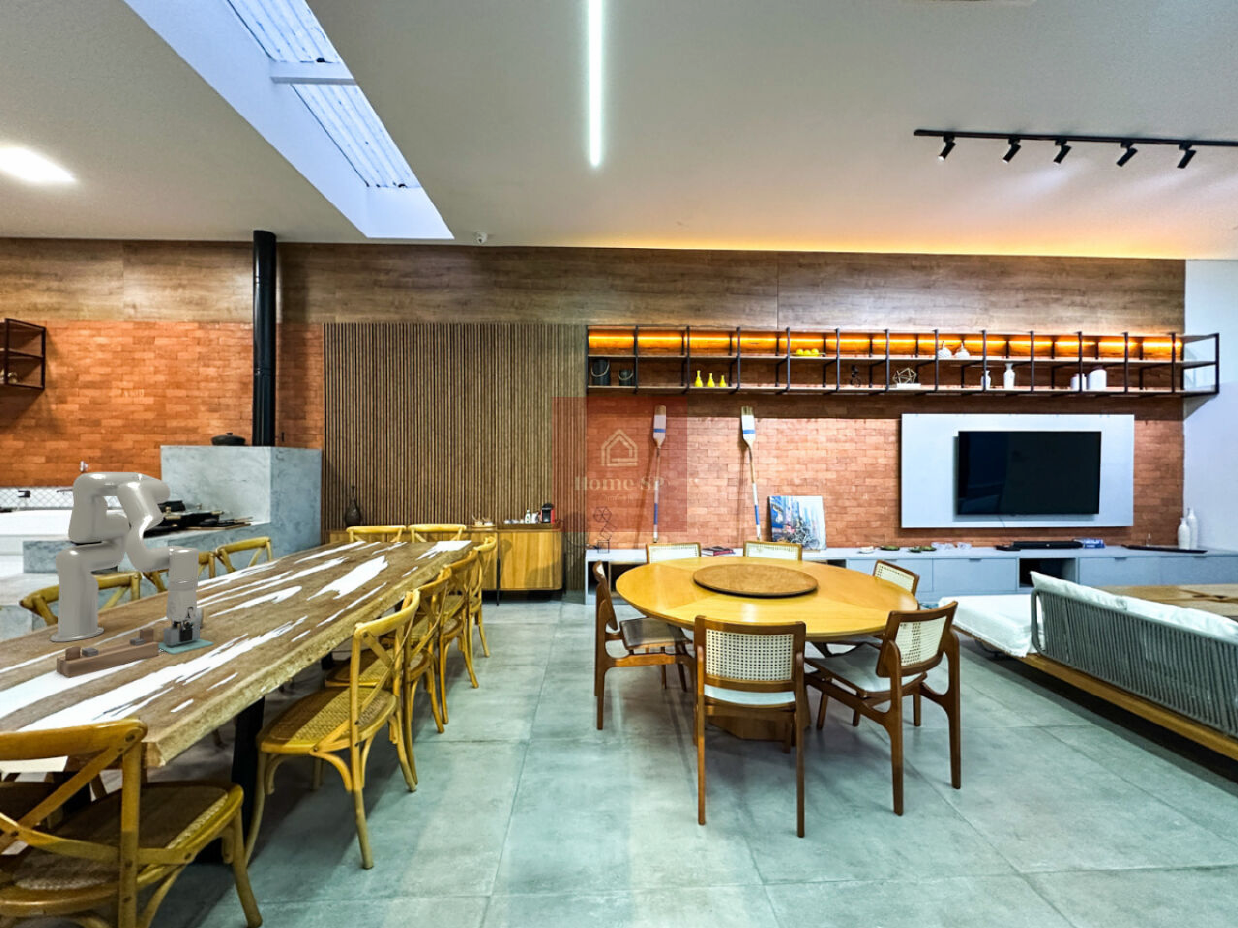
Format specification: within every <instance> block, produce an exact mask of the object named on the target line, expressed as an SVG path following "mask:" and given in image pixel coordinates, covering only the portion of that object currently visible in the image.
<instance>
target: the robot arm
mask: <svg viewBox="0 0 1238 928" xmlns="http://www.w3.org/2000/svg"><path fill="white" fill-rule="evenodd" d="M105 497H116V498H117V500H118V502H119V504H120V506H121V508H122V510H123V512H124V514H125V516H124V515H123V514H119V513H109V514H108V507H109V504H108V501H107V499H106V498H105ZM170 497H171V490H170V487H169V485H167V483H166V482H164V481H163V480H161V479H158V478H155V477H153V476H151V475H147V474H145V473H140V472H135V471H95V472H86V473H83V474H80V475H79V476H78V477H77V478H76V479H75V480H74V482H73V484H72V498H73V503H72V505H73V506H72V509H71V515H70V520H69V524H68V530H67V536H68V538H69V540H70V541H71V542H73V543H76V544H83V545H76V546H71V547H67V548H64V549H62V550H61V551H59V552H58V553H57V555H56V557H55V560H54V561H55V562H54V563H55V567H56V571H57V575H58V616H57V617H58V618H57V620H58V621H57V633H54V634H53V635H51V637H50V641H53V642H71V641H78V640H84V639H88V638H89V639H90V638H93V637H96V636H99V635H101V634H103V633H104V627H100V626H98V623H99V622H98V621H99V615H98V614H99V587H100V586H99V581H98V579H96V577H95V576H94V575H93V574H92V572H95V571H96V572H97V571H101V570H107V569H111V568H112V569H113V568H116V567H117V566H120V564H121V563H122V562H123V561H124V557H125V554H126V556H127V558H128V560H129V562H130V564H131V565H132V567H133V568H134V569H135V570H136V571H138V572H141V573H151V572H157V571H162V570H168V595H167V600H166V601H167V602H166V612H165V613H166V614H165V617H166V618H167V619H168V620H170V621H171V626H170V627H172V626H176V625H177V624H180V623H181V626H182V630H180V642H185V641H189V640H192V637H193V624H194V622H195V621H196V619H195V618H196V616H197V608H198V597H197V589H198V588H199V561H200V560H199V559H200V558H199V557H200V556H199V555H200V554H199V553H200V552H199V549H198V548H195V547H184V546H180V545H168V546H162V547H155V548H148V547H147V545H146V543H145V540H144V533H145V532H146V531H148V530H150V529H152V528H154V527H156V526H158V525H159V524H160V523H162V522H163V520H164V515H163V513H162V511H161V509H160V507H159V506H158V505H159V504H164V503H166V502H167V501H169V499H170ZM126 517H127V518H126ZM96 542H99V543H96ZM100 542H101V543H100ZM85 543H86V544H85ZM87 543H93V544H87ZM185 618H189V619H187V620H184V619H185ZM186 621H188V622H187V623H186V624H185V622H186Z"/></svg>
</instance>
